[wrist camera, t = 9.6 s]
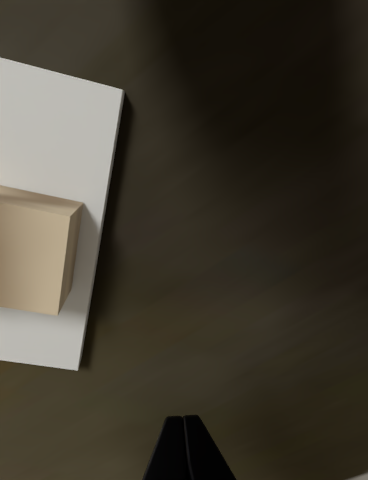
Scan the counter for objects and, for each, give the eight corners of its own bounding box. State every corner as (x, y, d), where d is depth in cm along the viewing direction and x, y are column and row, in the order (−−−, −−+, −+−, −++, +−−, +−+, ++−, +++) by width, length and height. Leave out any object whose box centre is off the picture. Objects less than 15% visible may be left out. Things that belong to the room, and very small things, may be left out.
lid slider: (83, 202, 16) (68, 218, 13) (71, 289, 18) (55, 319, 15) (-47, 175, 15) (-90, 186, 13) (-47, 270, 17) (-85, 297, 14)
